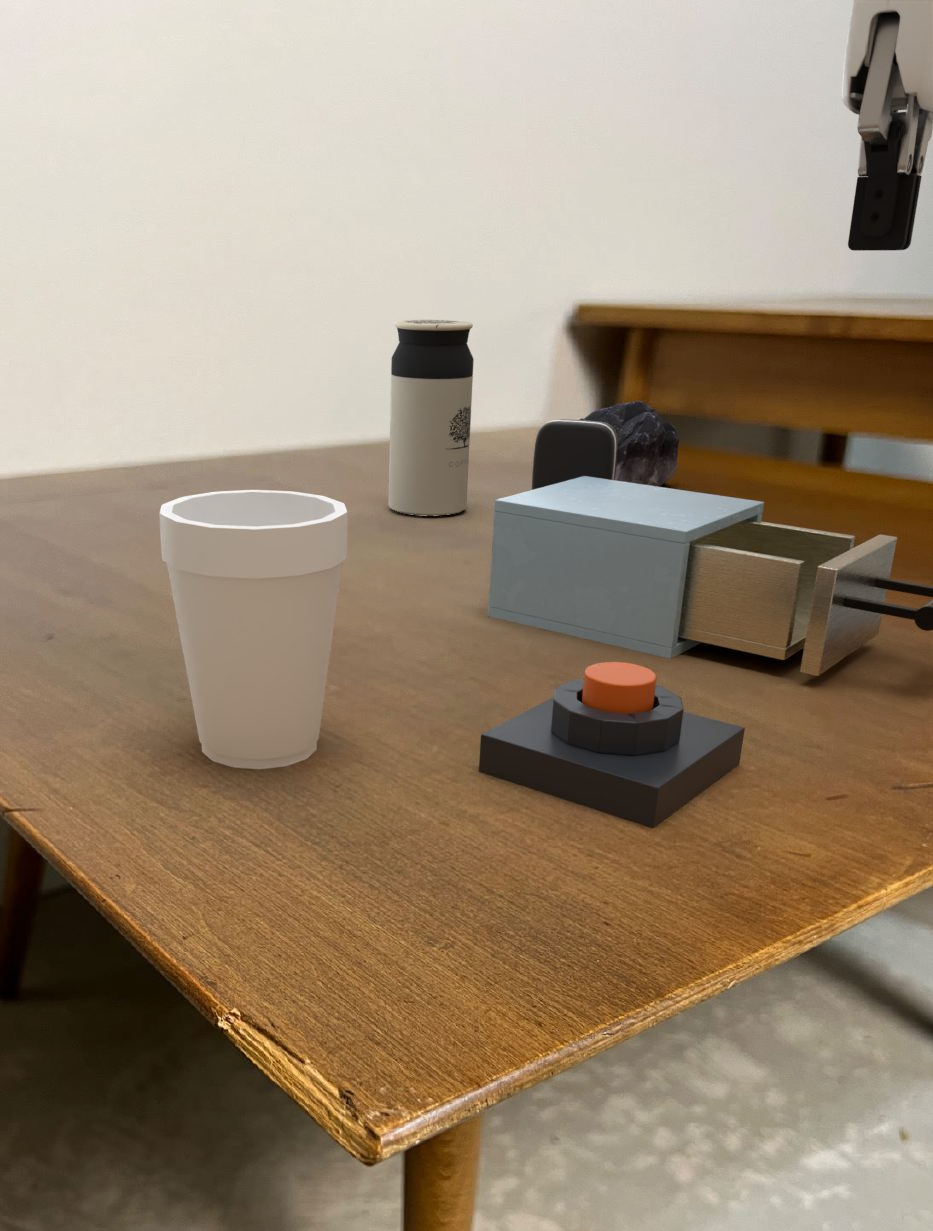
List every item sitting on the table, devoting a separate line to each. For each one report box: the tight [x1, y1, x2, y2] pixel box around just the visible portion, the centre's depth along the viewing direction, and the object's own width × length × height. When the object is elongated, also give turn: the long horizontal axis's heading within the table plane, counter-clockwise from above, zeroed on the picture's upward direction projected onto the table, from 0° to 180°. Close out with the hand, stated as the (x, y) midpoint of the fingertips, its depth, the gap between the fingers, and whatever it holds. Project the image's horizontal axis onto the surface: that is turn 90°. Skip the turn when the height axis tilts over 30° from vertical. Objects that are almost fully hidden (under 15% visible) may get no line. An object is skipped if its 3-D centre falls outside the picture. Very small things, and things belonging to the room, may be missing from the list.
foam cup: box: [158, 489, 348, 770], centre depth 63 cm, size 10×9×13 cm
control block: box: [478, 678, 746, 829], centre depth 62 cm, size 10×10×4 cm
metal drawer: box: [678, 519, 933, 677], centre depth 79 cm, size 19×11×7 cm, turn 50°
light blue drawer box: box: [487, 476, 765, 659], centre depth 87 cm, size 15×13×9 cm
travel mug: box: [387, 319, 475, 516], centre depth 119 cm, size 8×8×18 cm
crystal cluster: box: [578, 400, 680, 487], centre depth 135 cm, size 13×14×10 cm
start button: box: [582, 661, 657, 714], centre depth 61 cm, size 4×4×2 cm
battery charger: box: [531, 418, 618, 490], centre depth 104 cm, size 7×4×11 cm, turn 70°
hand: (878, 249), depth 72 cm, fingers closed
